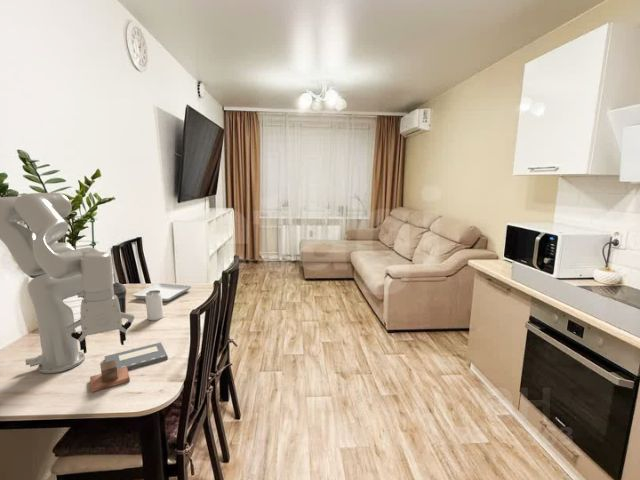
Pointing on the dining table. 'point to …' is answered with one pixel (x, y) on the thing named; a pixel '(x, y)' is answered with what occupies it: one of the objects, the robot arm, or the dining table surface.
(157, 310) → the can
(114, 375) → the wooden t-shaped block
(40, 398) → the dining table surface
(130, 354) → the board
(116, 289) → the beverage cup
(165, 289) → the salad plate
